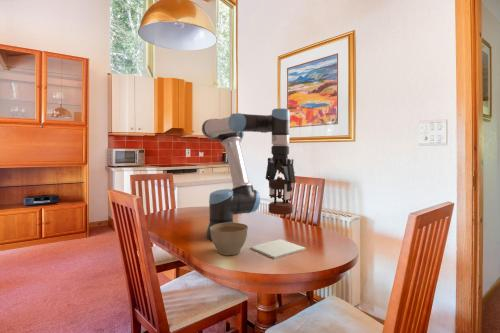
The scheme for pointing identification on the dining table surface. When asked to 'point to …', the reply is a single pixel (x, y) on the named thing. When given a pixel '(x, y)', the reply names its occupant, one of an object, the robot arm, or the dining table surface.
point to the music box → (279, 197)
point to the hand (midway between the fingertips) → (279, 197)
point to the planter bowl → (229, 237)
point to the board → (277, 248)
